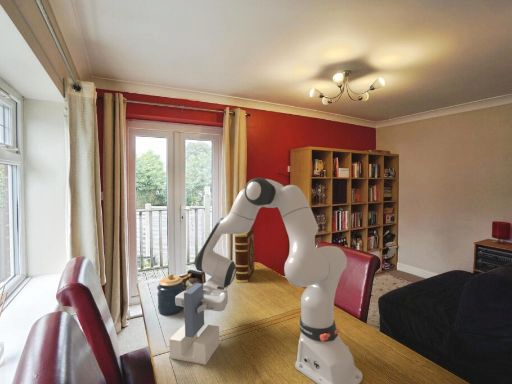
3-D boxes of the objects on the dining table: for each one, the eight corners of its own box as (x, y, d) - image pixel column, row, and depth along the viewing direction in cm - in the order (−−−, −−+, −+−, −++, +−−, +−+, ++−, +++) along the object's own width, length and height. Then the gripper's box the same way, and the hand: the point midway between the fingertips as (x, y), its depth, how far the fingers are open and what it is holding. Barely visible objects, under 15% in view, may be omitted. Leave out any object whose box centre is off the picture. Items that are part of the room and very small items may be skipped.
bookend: (190, 269, 165) (218, 273, 150) (191, 287, 165) (219, 293, 149) (169, 275, 154) (197, 280, 138) (170, 294, 153) (198, 302, 138)
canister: (157, 305, 137) (156, 271, 136) (184, 301, 142) (182, 268, 141) (158, 317, 125) (156, 280, 124) (186, 312, 130) (185, 276, 129)
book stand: (219, 343, 104) (219, 326, 104) (205, 364, 93) (205, 344, 92) (187, 338, 108) (186, 321, 108) (170, 358, 97) (169, 339, 96)
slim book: (204, 324, 104) (203, 283, 103) (192, 337, 96) (191, 293, 95) (197, 323, 105) (196, 283, 104) (185, 336, 96) (183, 292, 95)
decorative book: (247, 283, 164) (246, 234, 162) (234, 282, 165) (233, 234, 164) (254, 270, 186) (253, 227, 184) (243, 270, 187) (242, 227, 186)
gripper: (185, 284, 113) (165, 298, 100) (230, 289, 108) (216, 305, 94) (185, 298, 114) (166, 315, 100) (231, 304, 108) (217, 322, 95)
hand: (191, 310), depth 97 cm, fingers closed on slim book, 3 cm apart
